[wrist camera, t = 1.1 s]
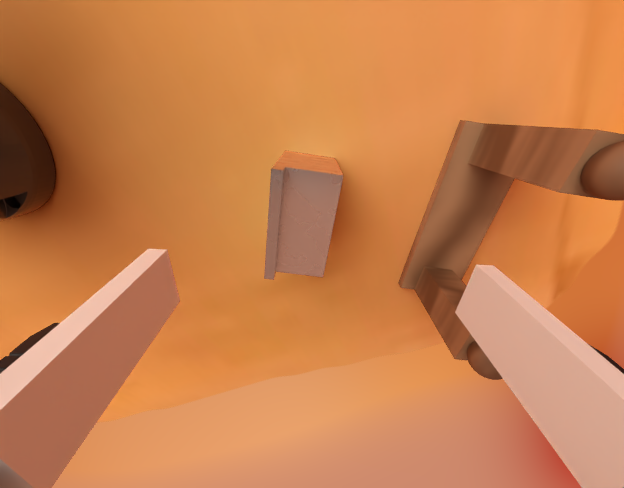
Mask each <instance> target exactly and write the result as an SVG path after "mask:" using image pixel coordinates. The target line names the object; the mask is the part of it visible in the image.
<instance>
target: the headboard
mask: <svg viewBox="0 0 624 488" xmlns="http://www.w3.org/2000/svg"><path fill="white" fill-rule="evenodd" d="M514 179H518V180H522V181H525V182H528V183H531V184H534V185H537V186H540V187H544V188H547V189H550V190H553V191H556V192H560V193H567V194H573V195H580V196H586V197H593V198H600V199H606V200H624V134H619V133H613V132H607V131H601V130H590V129H572V128H553V127H535V126H517V125H499V124H483V123H477V122H471V121H462V120H460V123H459V125H458V128H457V130H456V133H455V136H454V138H453V141H452V144H451V146H450V149H449V151H448V154H447V157H446V159H445V162H444V165H443V167H442V170H441V172H440V175H439V178H438V180H437V183H436V186H435V188H434V191H433V194H432V196H431V199H430V201H429V204H428V207H427V209H426V212H425V215H424V217H423V220H422V222H421V225H420V228H419V230H418V233H417V236H416V238H415V241H414V244H413V246H412V249H411V251H410V254H409V257H408V259H407V262H406V265H405V267H404V270H403V272H402V275H401V278H400V280H399V285H400V287H401V288H407V289H414V290H415V291H416V293H417V295H418V297H419V298H420V300H421V302H422V303H423V305H424V307H425V309H426V310H427V312H428V314H429V316H430V317H431V319H432V321H433V322H434V324H435V326H436V328H437V329H438V331H439V333H440V335H441V336H442V338H443V340H444V342H445V343H446V345H447V347H448V348H449V350H450V352H451V354H452V355H453V357H454V359H459V360H468V362H469V364H470V365H471V367H472V368H473V369H474V370H475V371H476V372H477V373H478V374H480V375H481V376H483V377H486V378H489V379H493V380H498V379H503V378H502V377H501V375H500V374H499V372H498V371H497V370H496V368H495V367H494V366H493V364H492V363H491V361H490V360H489V359H488V357H487V356H486V354H485V353H484V352H483V350H482V349H481V348H480V346H479V345H478V343H477V342H476V341H475V339H474V338H473V337H472V335H471V334H470V332H469V331H468V330H467V328H466V327H465V325H464V324H463V323H462V321H461V320H460V319H459V317H458V316H457V314H456V313H455V311H456V309H457V307H458V304H459V302H460V300H461V298H462V296H463V293H464V291H465V289H466V287H467V286H466V285H465V284H464V283H463V282H462V278H463V276H464V274H465V272H466V270H467V268H468V266H469V264H470V263H471V261H472V259H473V257H474V255H475V253H476V251H477V249H478V247H479V245H480V244H481V242H482V240H483V238H484V236H485V234H486V232H487V230H488V228H489V226H490V224H491V223H492V221H493V219H494V217H495V215H496V213H497V211H498V209H499V207H500V205H501V203H502V202H503V200H504V198H505V196H506V194H507V192H508V190H509V188H510V186H511V184H512V182H513V181H514Z"/></svg>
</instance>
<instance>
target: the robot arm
mask: <svg viewBox="0 0 624 488" xmlns="http://www.w3.org/2000/svg"><path fill="white" fill-rule="evenodd" d="M54 185H55V167H54V162H53V158H52V154H51V151H50V149H49V146H48V144H47V142H46V139H45V138H44V136H43V134H42V132H41V130H40V129H39V127H38V125H37V124H36V122H35V121H34V119H33V118H32V117H31V115H30V114H29V113H28V111H27V110H26V109H25V108H24V107H23V105H22V104H21V103H20V102H19V101H18V100H17V99H16V98H15V97H14V96H13V95H12V94H11V93H10V92H9V91H8V90H7V89H6V88H5V87H4V86H3V85H2V84H1V83H0V221H1V220H6V219H11V218H14V217H17V216H20V215H23V214H26V213H29V212H32V211H34V210H36V209H38V208H40V207H41V206H43V205H44V204H45V203H46V202H47V201H48V199H49V198H50V196H51V194H52V192H53V189H54ZM179 302H180V299H179V295H178V291H177V287H176V283H175V279H174V275H173V271H172V267H171V263H170V259H169V255H168V251H167V250H164V249H147V250H146V251H145V252H144V253H143V254H142V255H140V256H139V257H138V258H137V259H136V260H134V261H133V262H132V263H131V264H130V265H128V266H127V267H126V268H125V269H124V270H123V271H121V272H120V273H119V274H118V275H117V276H115V277H114V278H113V279H112V280H111V281H110V282H108V283H107V284H106V285H105V286H104V287H102V288H101V289H100V290H99V291H98V292H96V293H95V294H94V295H93V296H92V297H91V298H89V299H88V300H87V301H86V302H85V303H83V304H82V305H81V306H80V307H79V308H78V309H76V310H75V311H74V312H73V313H72V314H70V315H69V316H68V317H67V318H66V319H64V320H63V321H62V322H61V323H54V324H52V325H50V326H48V327H46V328H45V329H43V330H41V331H39V332H37V333H36V334H34V335H32V336H30V337H29V338H28V339H27V340H25V341H24V342H23V343H22V344H20V345H19V346H18V347H17V348H15V349H14V350H13V351H12V352H10V355H9V356H5V357H4V358H3V359H2V360H0V488H52V486H53V485H54V483H55V482H56V480H57V479H58V477H59V476H60V474H61V473H62V472H63V470H64V469H65V467H66V466H67V464H68V463H69V462H70V460H71V459H72V457H73V456H74V454H75V453H76V451H77V450H78V448H79V447H80V446H81V444H82V443H83V441H84V440H85V438H86V437H87V435H88V434H89V432H90V431H91V430H92V428H93V427H94V425H95V424H96V422H97V421H98V419H99V418H100V417H101V415H102V414H103V412H104V411H105V409H106V408H107V406H108V405H109V403H110V402H111V401H112V399H113V398H114V396H115V395H116V393H117V392H118V390H119V389H120V387H121V386H122V385H123V383H124V382H125V380H126V379H127V377H128V376H129V374H130V373H131V371H132V370H133V369H134V367H135V366H136V364H137V363H138V361H139V360H140V358H141V357H142V356H143V354H144V353H145V351H146V350H147V348H148V347H149V345H150V344H151V342H152V341H153V340H154V338H155V337H156V335H157V334H158V332H159V331H160V329H161V328H162V326H163V325H164V324H165V322H166V321H167V319H168V318H169V316H170V315H171V313H172V312H173V311H174V309H175V308H176V306H177V305H178V303H179ZM455 313H456V314H457V316H458V317H459V319H460V320H461V321H462V323H463V324H464V325H465V327H466V328H467V330H468V331H469V332H470V334H471V335H472V337H473V338H474V339H475V341H476V342H477V343H478V345H479V346H480V348H481V349H482V350H483V352H484V353H485V354H486V356H487V357H488V359H489V360H490V361H491V363H492V364H493V366H494V367H495V368H496V370H497V371H498V372H499V374H500V375H501V377H502V378H503V379H504V381H505V382H506V383H507V385H508V386H509V387H510V389H511V390H512V392H513V393H514V395H515V396H516V397H517V399H518V400H519V401H520V403H521V404H522V405H523V407H524V408H525V410H526V411H527V412H528V414H529V415H530V417H531V418H532V419H533V421H534V422H535V423H536V424H537V426H538V428H539V429H540V430H541V432H542V433H543V434H544V436H545V437H546V439H547V440H548V441H549V443H550V444H551V446H552V447H553V448H554V450H555V451H556V452H557V453H558V455H559V457H560V458H561V459H562V460H563V462H564V464H565V465H566V466H567V467H568V469H569V470H570V472H571V473H572V475H573V476H574V477H575V479H576V480H577V481H578V483H579V484H580V486H581V487H582V488H624V369H623V368H622V367H620V366H619V365H618V364H617V363H616V362H614V361H613V360H612V359H611V358H609V357H608V356H607V355H605V354H604V353H602V352H600V351H599V350H597V349H595V348H594V347H592V346H590V345H589V344H587V343H586V342H584V341H583V340H582V339H581V338H580V337H579V336H577V335H576V334H575V333H574V332H573V331H571V330H570V329H569V328H568V327H567V326H565V325H564V324H563V323H562V322H561V321H559V320H558V319H557V318H556V317H555V316H553V315H552V314H551V313H550V312H549V311H548V310H546V309H545V308H544V307H543V306H542V305H540V304H539V303H538V302H537V301H536V300H534V299H533V298H532V297H531V296H530V295H528V294H527V293H526V292H525V291H524V290H522V289H521V288H520V287H519V286H518V285H516V284H515V283H514V282H513V281H512V280H510V279H509V278H508V277H507V276H506V275H504V274H503V273H502V272H501V271H500V270H498V269H497V268H496V267H495V266H494V265H476V266H475V269H474V271H473V273H472V275H471V278H470V280H469V282H468V284H467V287H466V289H465V291H464V293H463V296H462V298H461V300H460V302H459V304H458V307H457V309H456V311H455Z"/></svg>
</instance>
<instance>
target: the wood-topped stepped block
mask: <svg viewBox="0 0 624 488" xmlns="http://www.w3.org/2000/svg"><path fill="white" fill-rule="evenodd" d="M342 180H343V174H342V172H341V170H340V168H339V165H338V163H337V161H336V159H335V158H331V157H324V156H318V155H311V154H304V153H298V152H291V151H285V152H284V153H283V154H282V156H281V157H280V158H279V159H278V161H277V162H276V163H275V165H274V166H273V167H272V169H271V183H270V198H269V214H268V229H267V245H266V261H265V276H264V279H273V280H274V277H275V273H276V272H284V273H292V274H301V275H309V276H317V277H323V275H324V270H325V265H326V260H327V255H328V250H329V245H330V240H331V235H332V230H333V225H334V220H335V215H336V210H337V205H338V200H339V195H340V190H341V185H342Z"/></svg>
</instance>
